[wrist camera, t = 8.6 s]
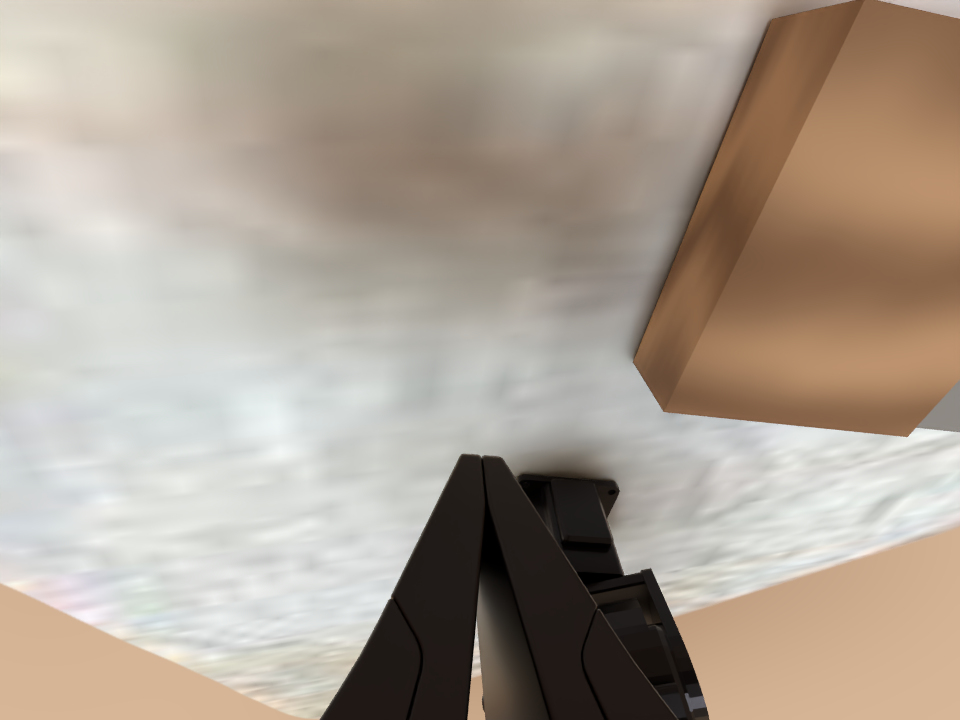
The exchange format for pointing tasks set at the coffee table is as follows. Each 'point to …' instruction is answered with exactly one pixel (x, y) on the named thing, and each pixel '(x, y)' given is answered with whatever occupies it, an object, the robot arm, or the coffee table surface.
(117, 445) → the coffee table surface
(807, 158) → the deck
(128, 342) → the coffee table surface
